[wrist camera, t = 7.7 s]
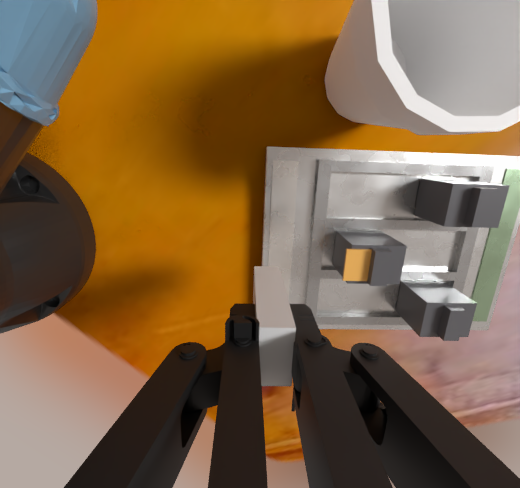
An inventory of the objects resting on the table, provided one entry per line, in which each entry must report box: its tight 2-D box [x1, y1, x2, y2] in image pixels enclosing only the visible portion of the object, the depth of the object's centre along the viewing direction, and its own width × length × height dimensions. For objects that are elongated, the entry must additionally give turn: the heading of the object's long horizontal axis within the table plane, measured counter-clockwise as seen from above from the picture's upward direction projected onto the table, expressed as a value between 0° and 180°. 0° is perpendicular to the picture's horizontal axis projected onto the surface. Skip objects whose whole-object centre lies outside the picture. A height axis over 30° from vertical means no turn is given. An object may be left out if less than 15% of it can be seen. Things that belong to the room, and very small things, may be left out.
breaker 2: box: [414, 179, 510, 228], centre depth 22 cm, size 4×3×5 cm
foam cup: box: [324, 0, 520, 135], centre depth 17 cm, size 10×9×13 cm
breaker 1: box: [332, 231, 407, 286], centre depth 23 cm, size 4×3×5 cm
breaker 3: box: [396, 281, 477, 341], centre depth 25 cm, size 4×3×5 cm
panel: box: [261, 146, 520, 330], centre depth 26 cm, size 22×16×2 cm
